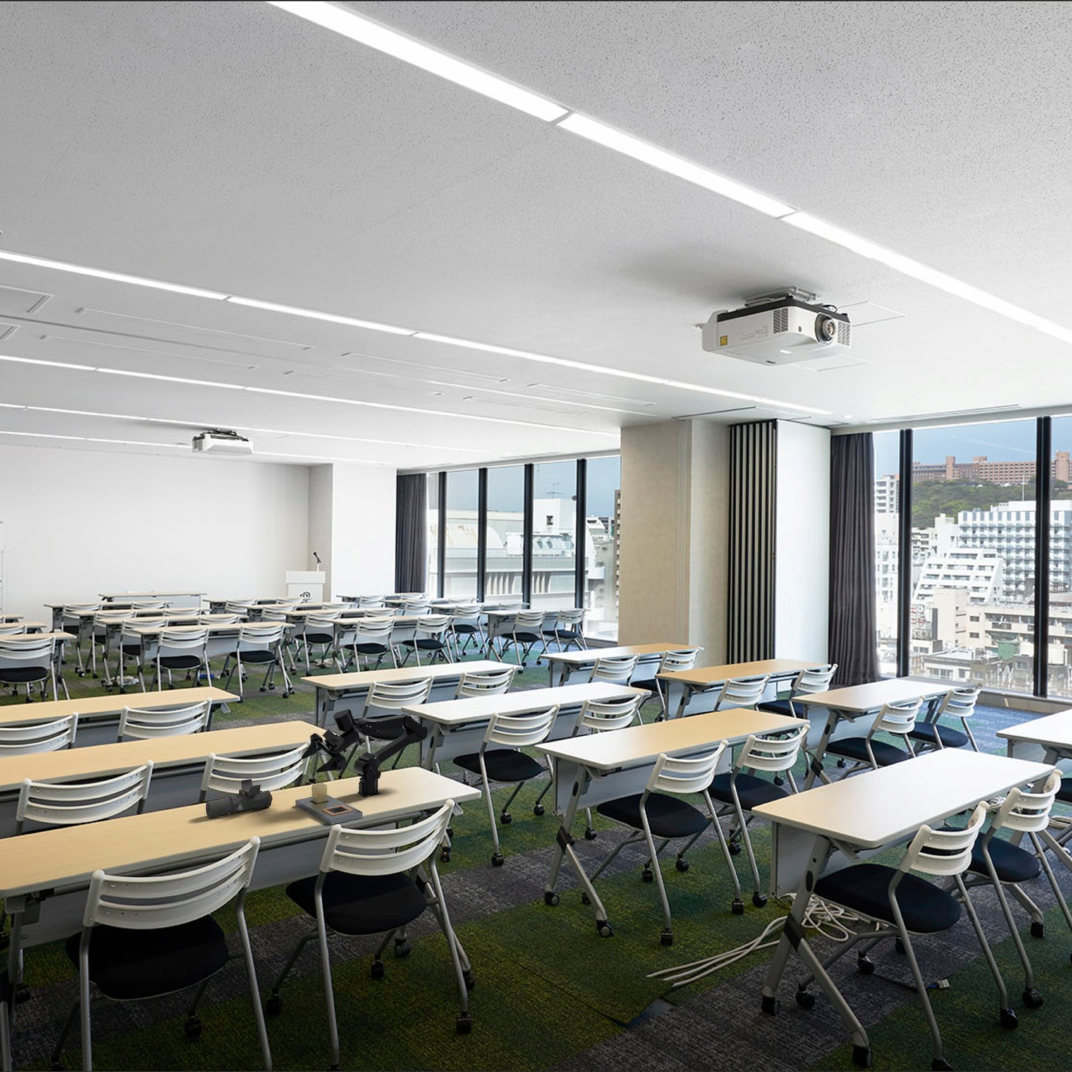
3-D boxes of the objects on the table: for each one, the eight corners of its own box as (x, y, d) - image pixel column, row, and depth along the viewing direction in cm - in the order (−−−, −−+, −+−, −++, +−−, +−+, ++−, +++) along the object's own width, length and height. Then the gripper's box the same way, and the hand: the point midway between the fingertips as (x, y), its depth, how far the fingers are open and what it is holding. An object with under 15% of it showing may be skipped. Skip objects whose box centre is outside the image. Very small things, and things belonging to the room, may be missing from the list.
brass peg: (321, 804, 310) (321, 782, 310) (326, 807, 307) (327, 785, 307) (311, 806, 308) (311, 784, 308) (316, 809, 305) (316, 787, 305)
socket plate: (325, 799, 317) (325, 793, 317) (362, 817, 295) (362, 811, 296) (295, 805, 309) (295, 799, 309) (331, 825, 288) (331, 818, 288)
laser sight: (203, 815, 299) (204, 786, 299) (266, 803, 312) (266, 776, 313) (212, 822, 291) (212, 793, 291) (276, 809, 305) (276, 782, 305)
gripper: (326, 713, 318) (290, 736, 308) (357, 738, 307) (321, 763, 298) (329, 734, 324) (295, 757, 314) (360, 759, 313) (325, 784, 304)
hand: (308, 764), depth 307 cm, fingers open, 9 cm apart
